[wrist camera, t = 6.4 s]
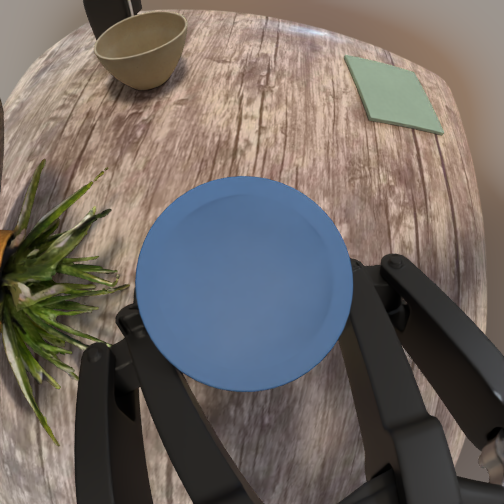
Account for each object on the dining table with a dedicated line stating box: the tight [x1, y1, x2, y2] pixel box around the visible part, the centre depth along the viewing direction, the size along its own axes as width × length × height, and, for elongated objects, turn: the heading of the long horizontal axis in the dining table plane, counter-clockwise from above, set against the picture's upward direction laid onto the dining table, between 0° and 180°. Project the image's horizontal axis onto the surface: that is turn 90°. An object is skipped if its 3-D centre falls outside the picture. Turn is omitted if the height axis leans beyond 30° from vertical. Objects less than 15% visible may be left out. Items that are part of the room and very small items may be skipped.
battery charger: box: [83, 0, 142, 40], centre depth 23 cm, size 7×4×11 cm, turn 72°
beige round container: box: [94, 11, 187, 90], centre depth 24 cm, size 10×10×7 cm
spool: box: [135, 176, 353, 392], centre depth 13 cm, size 6×6×10 cm
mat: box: [344, 55, 444, 135], centre depth 30 cm, size 12×12×1 cm
